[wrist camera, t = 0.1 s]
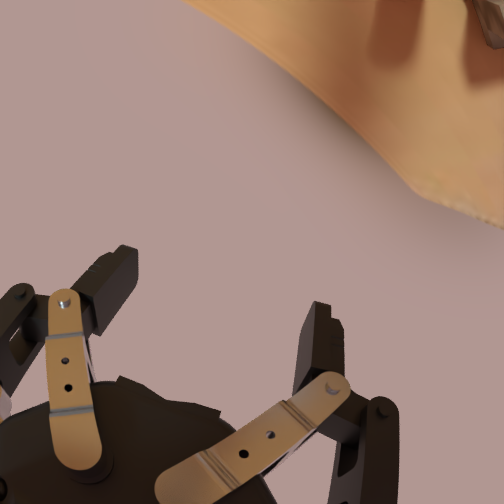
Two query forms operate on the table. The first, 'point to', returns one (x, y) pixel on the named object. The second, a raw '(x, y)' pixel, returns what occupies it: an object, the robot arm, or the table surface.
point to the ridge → (491, 21)
